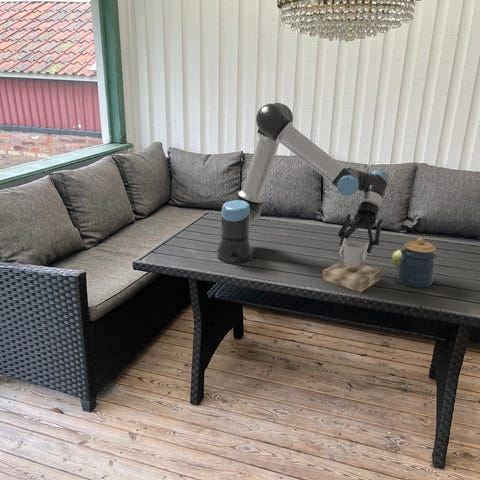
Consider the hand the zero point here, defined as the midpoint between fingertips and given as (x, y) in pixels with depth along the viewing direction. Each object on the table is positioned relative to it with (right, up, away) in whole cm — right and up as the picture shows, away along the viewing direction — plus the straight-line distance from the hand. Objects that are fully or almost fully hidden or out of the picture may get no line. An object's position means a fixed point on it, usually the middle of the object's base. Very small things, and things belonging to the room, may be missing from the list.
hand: (351, 256), depth 168 cm
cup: (+2, -3, +4) cm, 5 cm away
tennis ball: (+26, -4, +24) cm, 35 cm away
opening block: (+1, -9, +6) cm, 11 cm away
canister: (+25, -10, +6) cm, 28 cm away
